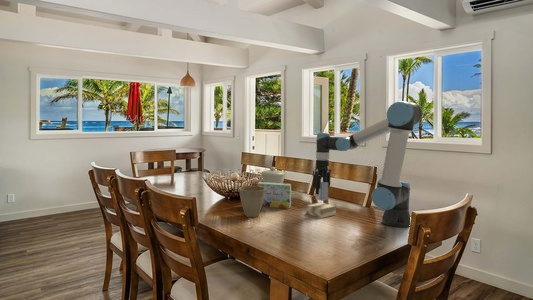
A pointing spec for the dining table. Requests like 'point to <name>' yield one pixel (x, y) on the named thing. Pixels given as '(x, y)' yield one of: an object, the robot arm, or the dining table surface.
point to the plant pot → (252, 199)
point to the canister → (273, 176)
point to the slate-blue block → (323, 191)
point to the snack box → (276, 195)
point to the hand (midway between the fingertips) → (321, 198)
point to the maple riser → (321, 210)
